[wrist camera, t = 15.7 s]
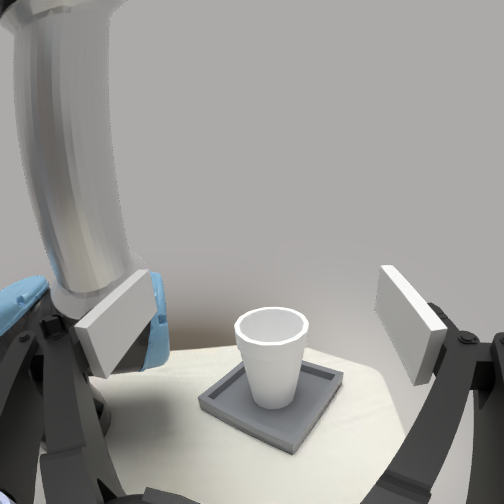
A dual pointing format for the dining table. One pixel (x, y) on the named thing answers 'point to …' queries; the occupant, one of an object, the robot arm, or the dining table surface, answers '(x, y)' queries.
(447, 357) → the robot arm
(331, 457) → the dining table surface
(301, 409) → the serving tray
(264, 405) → the foam cup
